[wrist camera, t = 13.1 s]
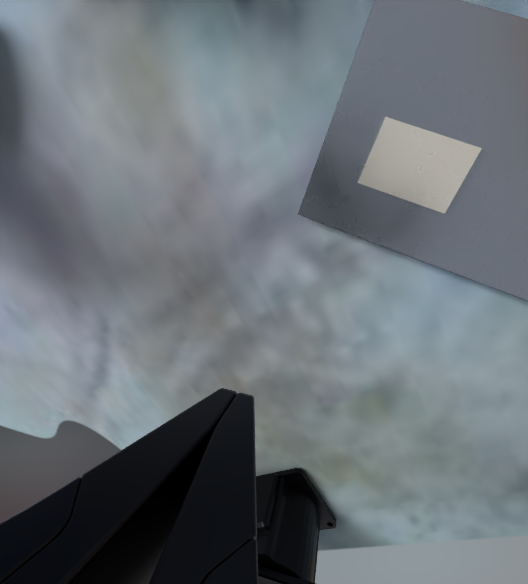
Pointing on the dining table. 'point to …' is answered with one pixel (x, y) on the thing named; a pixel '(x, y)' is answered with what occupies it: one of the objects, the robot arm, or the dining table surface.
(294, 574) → the robot arm
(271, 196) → the dining table surface
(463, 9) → the label plate
